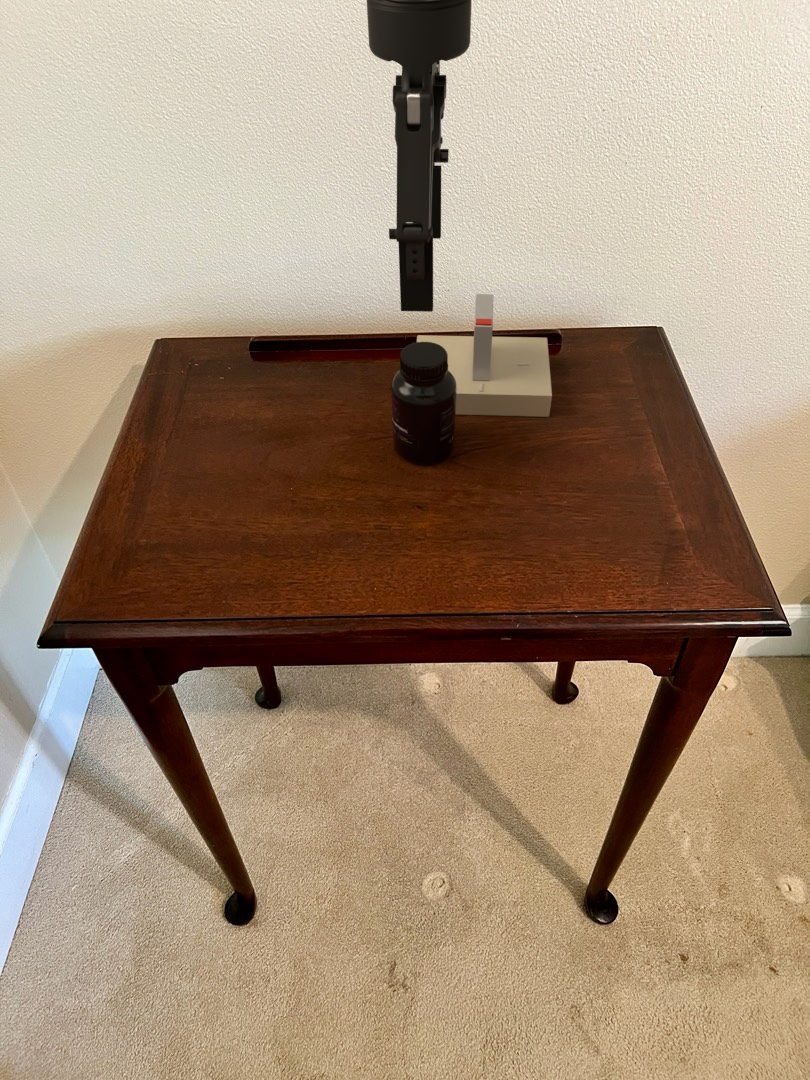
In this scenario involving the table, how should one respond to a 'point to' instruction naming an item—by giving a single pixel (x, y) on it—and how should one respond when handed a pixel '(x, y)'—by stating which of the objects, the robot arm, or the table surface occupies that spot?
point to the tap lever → (482, 337)
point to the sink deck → (500, 376)
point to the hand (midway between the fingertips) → (422, 271)
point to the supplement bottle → (423, 404)
